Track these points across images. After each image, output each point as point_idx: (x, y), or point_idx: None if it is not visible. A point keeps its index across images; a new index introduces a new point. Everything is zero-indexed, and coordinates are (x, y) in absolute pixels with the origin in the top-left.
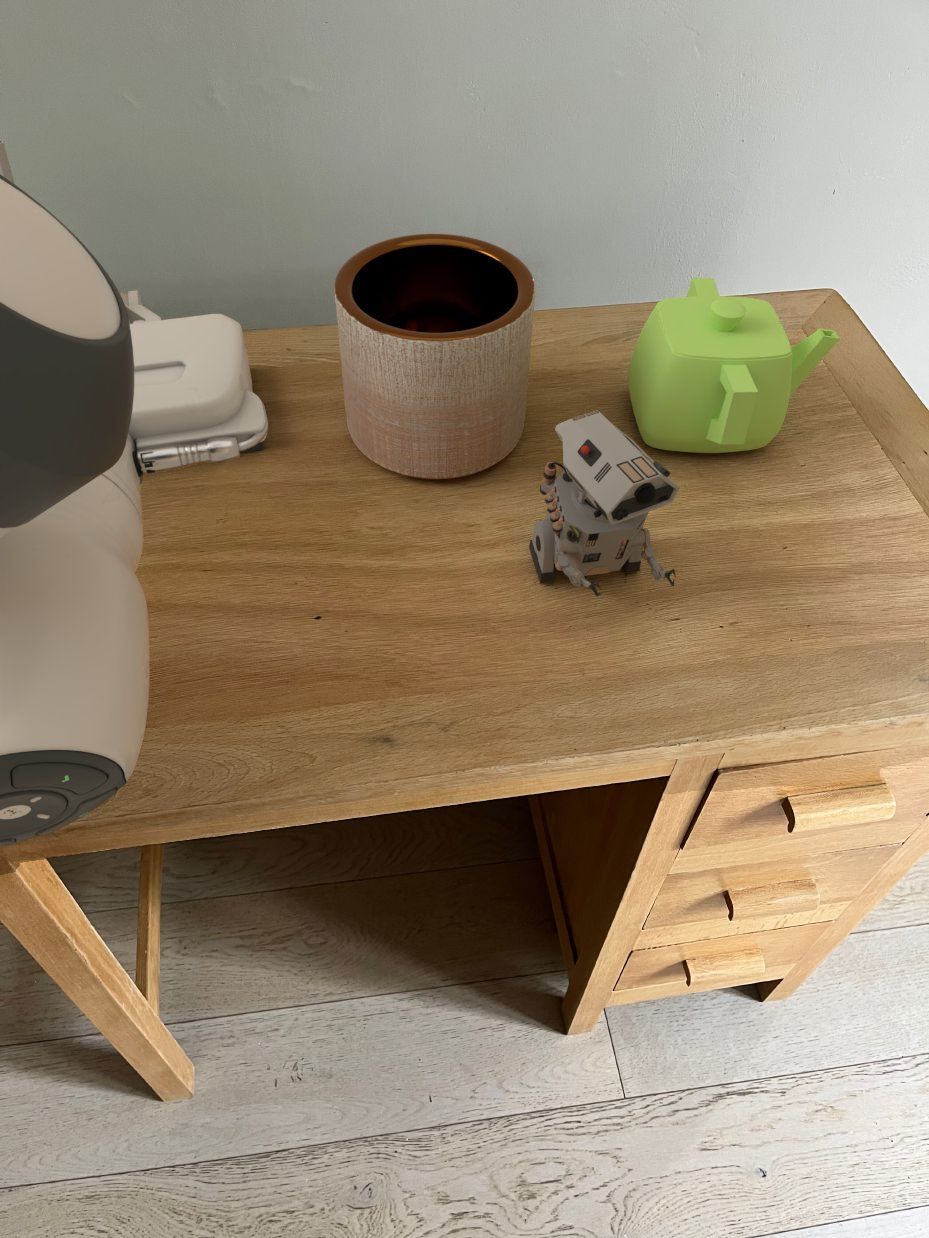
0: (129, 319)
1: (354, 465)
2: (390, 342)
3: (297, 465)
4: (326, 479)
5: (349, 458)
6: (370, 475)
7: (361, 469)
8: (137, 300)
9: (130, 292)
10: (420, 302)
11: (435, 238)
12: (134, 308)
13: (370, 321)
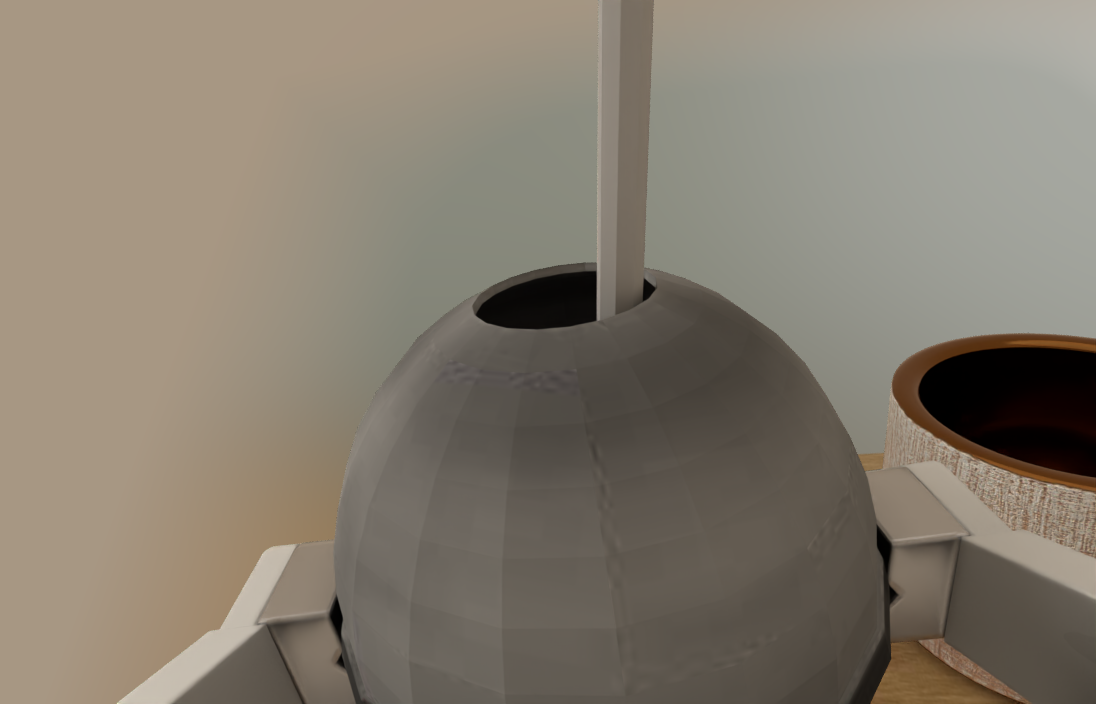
0: (952, 583)
1: (915, 669)
2: (1062, 498)
3: None
4: (877, 695)
5: (900, 654)
6: (953, 694)
7: (931, 679)
8: (987, 507)
9: (925, 471)
10: (977, 422)
11: (1012, 339)
12: (1023, 552)
13: (1007, 461)
